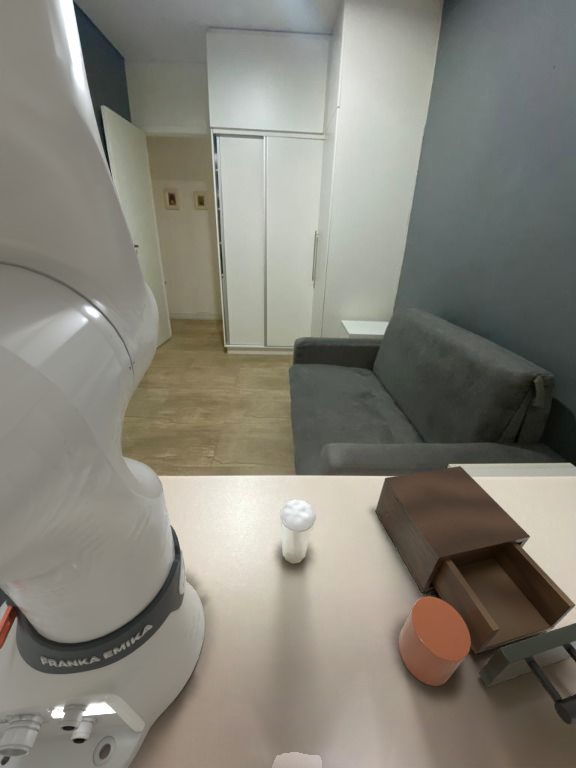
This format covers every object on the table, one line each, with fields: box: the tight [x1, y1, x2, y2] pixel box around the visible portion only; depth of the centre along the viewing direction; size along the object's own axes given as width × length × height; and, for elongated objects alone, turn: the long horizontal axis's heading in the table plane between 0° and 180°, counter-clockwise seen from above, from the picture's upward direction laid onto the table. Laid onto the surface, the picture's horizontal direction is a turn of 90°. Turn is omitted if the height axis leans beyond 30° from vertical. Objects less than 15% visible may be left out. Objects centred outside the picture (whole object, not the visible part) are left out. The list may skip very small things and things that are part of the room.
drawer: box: [432, 543, 576, 725], centre depth 34 cm, size 16×12×6 cm
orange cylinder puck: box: [397, 595, 471, 687], centre depth 33 cm, size 6×6×6 cm
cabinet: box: [375, 465, 531, 593], centre depth 45 cm, size 13×14×8 cm
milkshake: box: [279, 498, 317, 565], centre depth 41 cm, size 4×5×10 cm
